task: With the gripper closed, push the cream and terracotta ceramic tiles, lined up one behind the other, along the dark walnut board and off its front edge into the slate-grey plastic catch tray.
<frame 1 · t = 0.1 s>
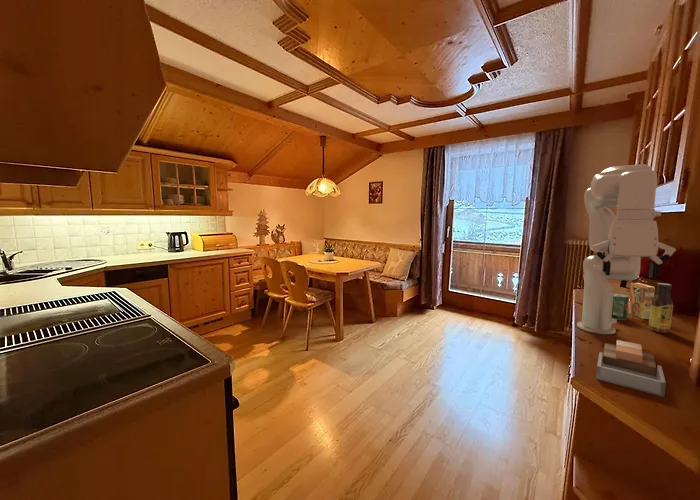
hand: (629, 276, 85), 31 cm above the table, tool pointing down, fingers open, 9 cm apart
candy box: (639, 316, 140), on the table
cream tile: (628, 351, 99), point 3 cm above the table, touching walnut board
sauce bottle: (659, 331, 123), on the table
canned tomato: (615, 317, 139), on the table
catch tray: (628, 378, 88), on the table
walnut board: (627, 363, 97), on the table
terracotta tile: (628, 357, 94), point 3 cm above the table, touching walnut board
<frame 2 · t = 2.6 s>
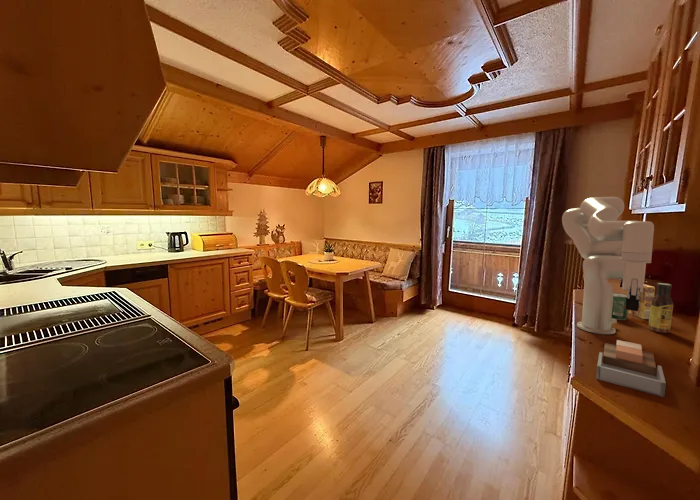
hand: (631, 309, 102), 16 cm above the table, tool pointing down, fingers closed
nothing on the table moved.
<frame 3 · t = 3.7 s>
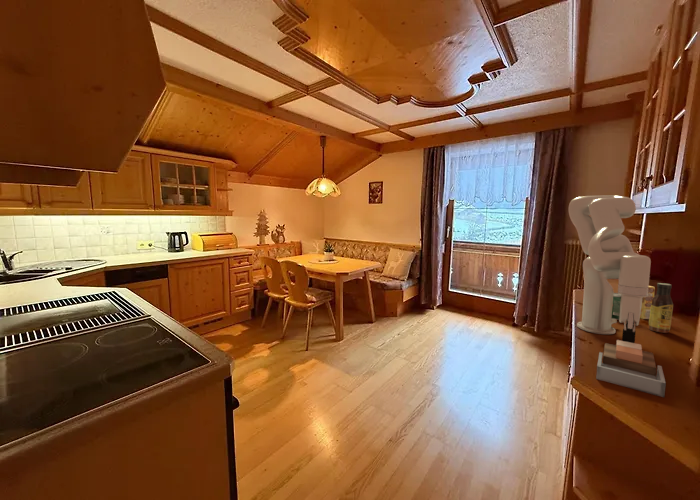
hand: (628, 341, 104), 4 cm above the table, tool pointing down, fingers closed
nothing on the table moved.
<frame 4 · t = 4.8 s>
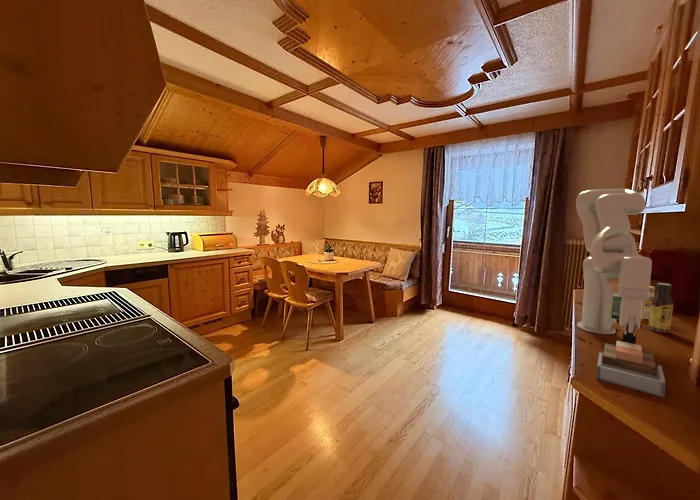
hand: (628, 345, 101), 4 cm above the table, tool pointing down, fingers closed
cream tile: (628, 352, 98), point 3 cm above the table
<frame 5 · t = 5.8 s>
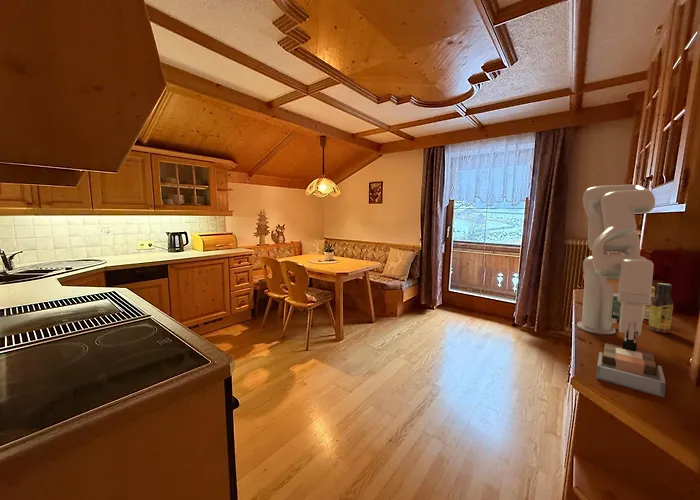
hand: (628, 352, 96), 4 cm above the table, tool pointing down, fingers closed
cream tile: (628, 360, 93), point 3 cm above the table, touching gripper
terracotta tile: (629, 364, 89), point 3 cm above the table, tilted 101°, touching catch tray
everything else where it was.
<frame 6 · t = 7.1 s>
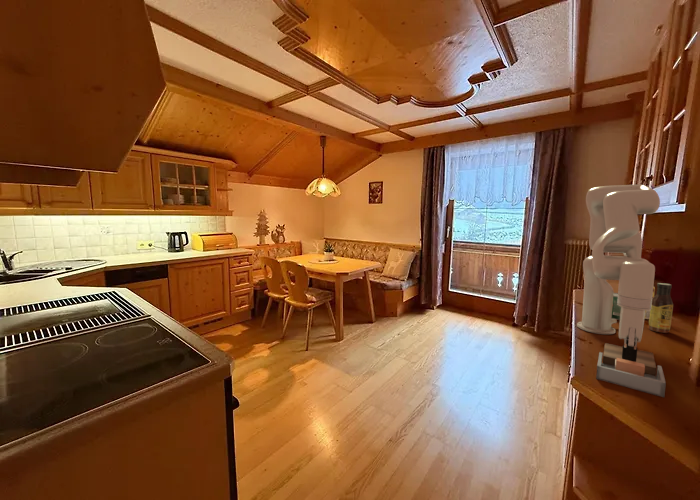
hand: (628, 359, 91), 4 cm above the table, tool pointing down, fingers closed
cream tile: (627, 372, 90), resting on catch tray
terracotta tile: (629, 368, 88), point 3 cm above the table, tilted 90°, touching catch tray
everything else where it was.
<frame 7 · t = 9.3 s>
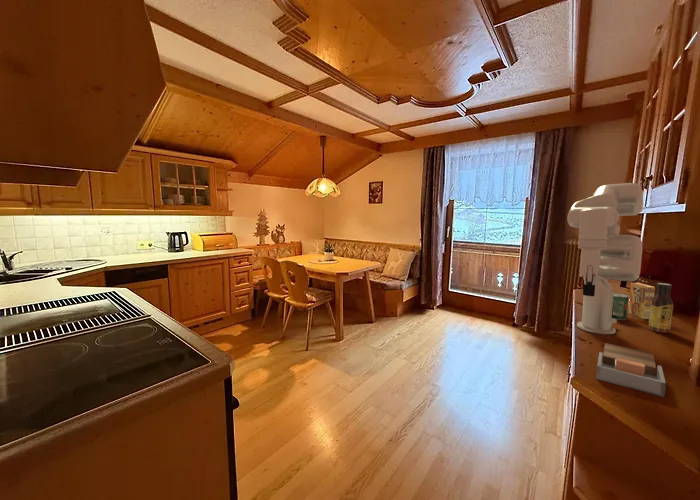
hand: (588, 295, 105), 20 cm above the table, tool pointing down, fingers closed
nothing on the table moved.
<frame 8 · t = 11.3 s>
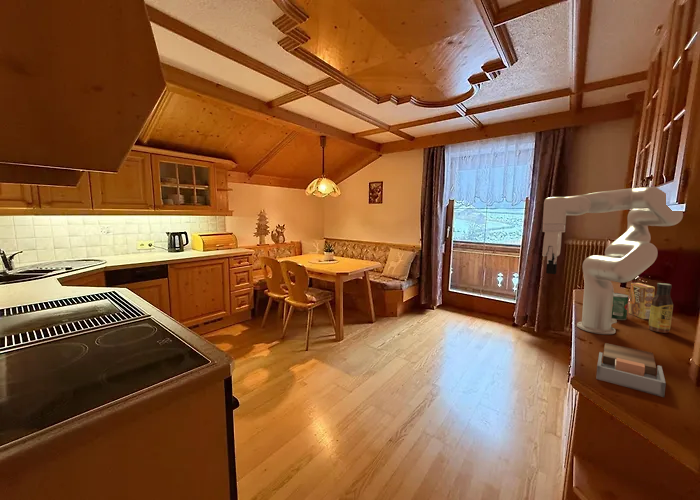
hand: (551, 273, 120), 25 cm above the table, tool pointing down, fingers closed
nothing on the table moved.
at the end: cream tile inside the target area on the catch tray (3.8 cm from its centre), point 0.5 cm above the catch tray's base; terracotta tile inside the target area on the catch tray (1.2 cm from its centre), point 3.0 cm above the catch tray's base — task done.
